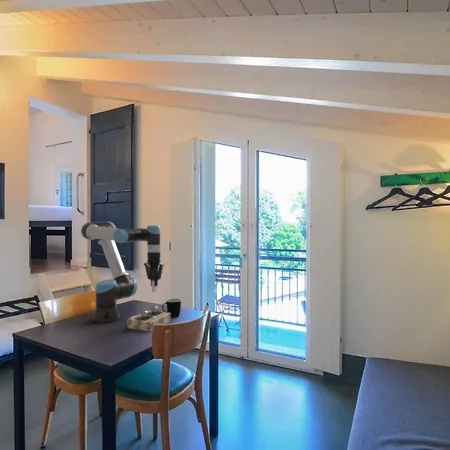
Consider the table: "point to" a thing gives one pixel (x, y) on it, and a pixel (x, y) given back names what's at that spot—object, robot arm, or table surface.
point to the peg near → (144, 314)
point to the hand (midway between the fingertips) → (154, 291)
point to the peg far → (154, 310)
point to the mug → (173, 307)
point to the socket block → (148, 320)
